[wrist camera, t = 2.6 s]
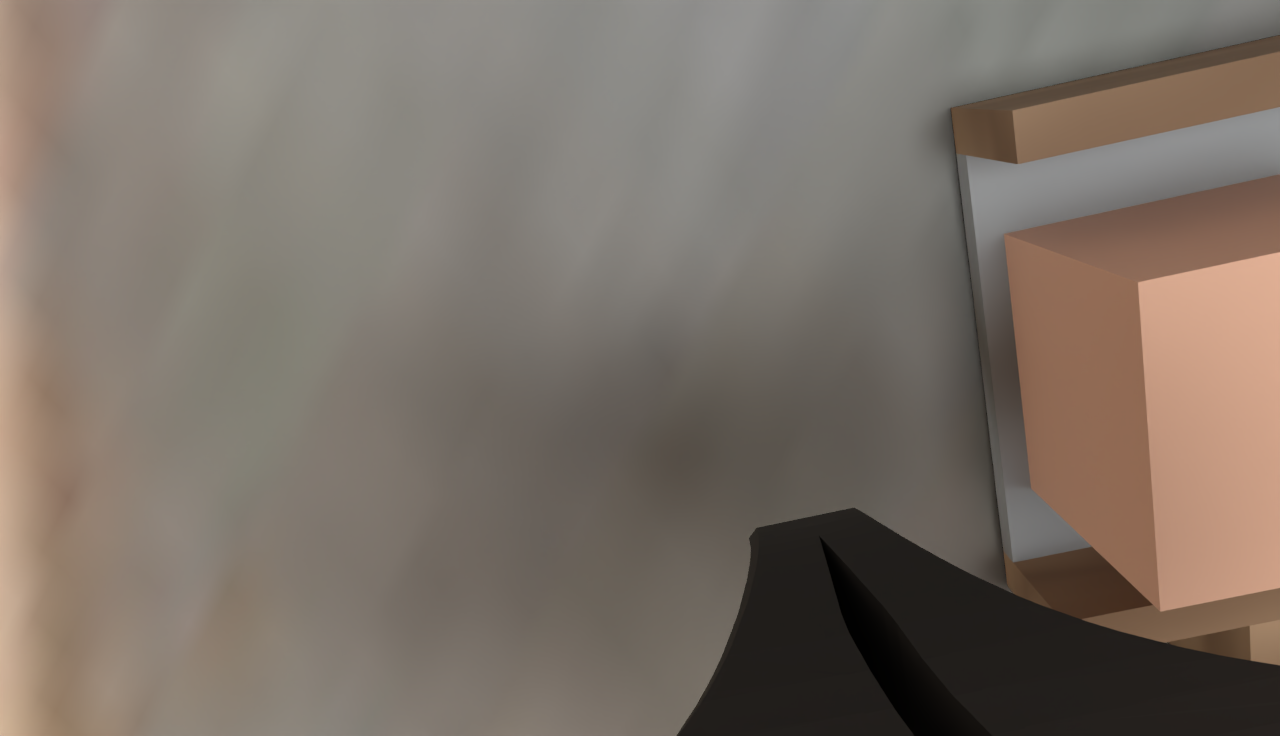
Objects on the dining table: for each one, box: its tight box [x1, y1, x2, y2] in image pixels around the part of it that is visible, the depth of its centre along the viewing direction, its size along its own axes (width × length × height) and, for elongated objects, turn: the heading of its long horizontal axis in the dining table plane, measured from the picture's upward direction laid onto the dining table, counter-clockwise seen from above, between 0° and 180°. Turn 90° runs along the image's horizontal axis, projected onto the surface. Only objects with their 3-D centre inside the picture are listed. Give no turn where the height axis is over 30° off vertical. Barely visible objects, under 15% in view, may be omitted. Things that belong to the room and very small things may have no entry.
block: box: [1004, 174, 1280, 612], centre depth 15 cm, size 5×5×4 cm
